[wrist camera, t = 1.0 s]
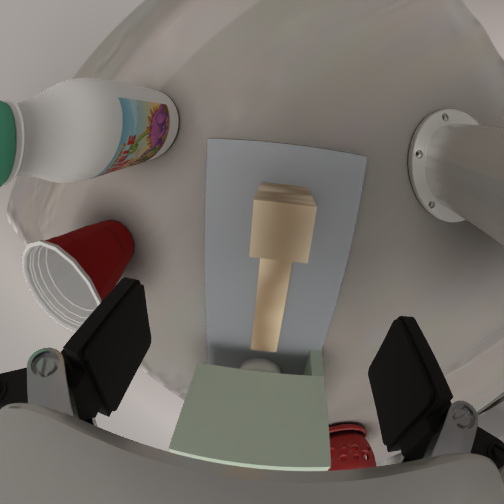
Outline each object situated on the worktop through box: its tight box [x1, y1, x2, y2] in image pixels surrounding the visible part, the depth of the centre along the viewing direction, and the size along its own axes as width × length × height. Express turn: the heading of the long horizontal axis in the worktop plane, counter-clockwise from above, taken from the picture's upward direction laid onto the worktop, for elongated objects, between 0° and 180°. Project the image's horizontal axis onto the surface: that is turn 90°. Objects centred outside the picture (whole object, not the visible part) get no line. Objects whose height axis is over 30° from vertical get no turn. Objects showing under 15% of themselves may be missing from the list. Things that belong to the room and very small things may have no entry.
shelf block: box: [169, 350, 331, 471], centre depth 29 cm, size 15×10×18 cm, turn 86°
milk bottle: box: [0, 78, 179, 187], centre depth 15 cm, size 8×8×20 cm
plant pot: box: [327, 424, 376, 471], centre depth 39 cm, size 13×13×12 cm
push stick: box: [249, 182, 317, 352], centre depth 26 cm, size 4×20×7 cm, turn 176°
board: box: [205, 138, 367, 375], centre depth 31 cm, size 15×36×1 cm, turn 176°
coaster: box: [239, 358, 281, 374], centre depth 35 cm, size 6×6×2 cm
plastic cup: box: [22, 220, 134, 333], centre depth 25 cm, size 11×11×12 cm
